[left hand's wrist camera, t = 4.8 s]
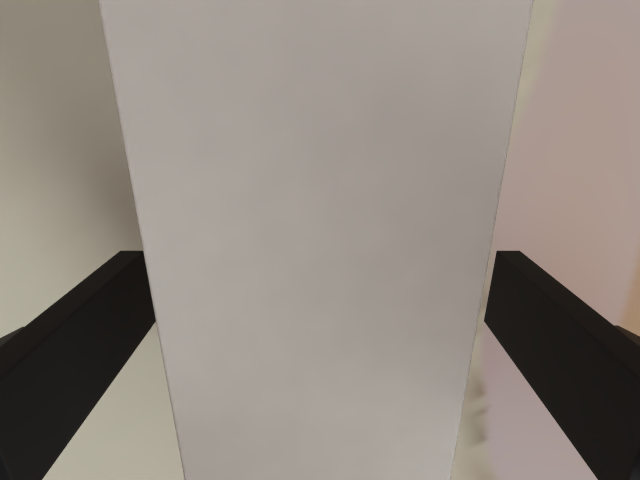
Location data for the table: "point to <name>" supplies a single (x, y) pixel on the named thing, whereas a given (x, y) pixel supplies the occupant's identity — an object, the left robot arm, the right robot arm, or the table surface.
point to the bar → (316, 220)
